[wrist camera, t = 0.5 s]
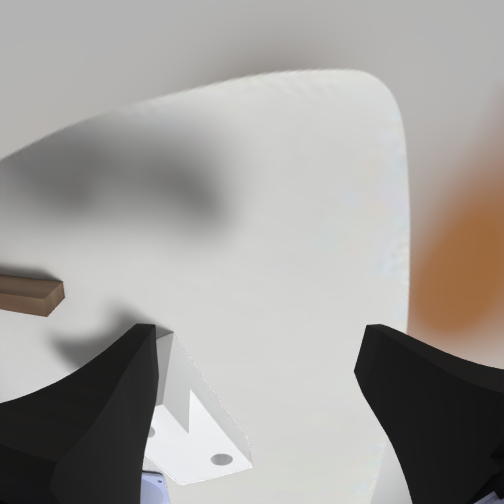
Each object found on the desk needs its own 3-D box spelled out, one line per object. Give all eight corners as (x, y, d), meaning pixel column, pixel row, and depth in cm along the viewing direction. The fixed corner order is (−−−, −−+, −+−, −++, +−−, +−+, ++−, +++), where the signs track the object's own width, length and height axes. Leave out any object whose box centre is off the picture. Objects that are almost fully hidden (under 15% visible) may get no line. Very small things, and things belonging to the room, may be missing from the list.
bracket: (96, 360, 21) (66, 429, 14) (174, 330, 21) (162, 404, 14) (181, 457, 25) (179, 521, 18) (248, 437, 25) (261, 504, 18)
